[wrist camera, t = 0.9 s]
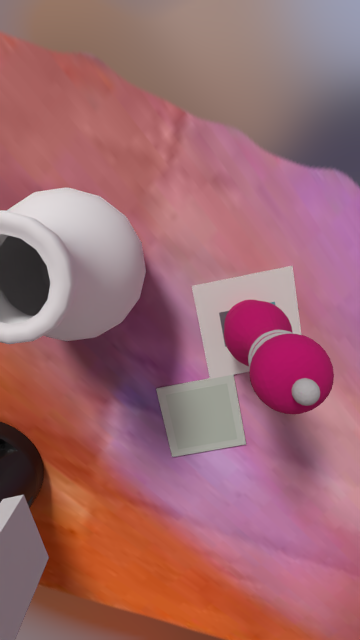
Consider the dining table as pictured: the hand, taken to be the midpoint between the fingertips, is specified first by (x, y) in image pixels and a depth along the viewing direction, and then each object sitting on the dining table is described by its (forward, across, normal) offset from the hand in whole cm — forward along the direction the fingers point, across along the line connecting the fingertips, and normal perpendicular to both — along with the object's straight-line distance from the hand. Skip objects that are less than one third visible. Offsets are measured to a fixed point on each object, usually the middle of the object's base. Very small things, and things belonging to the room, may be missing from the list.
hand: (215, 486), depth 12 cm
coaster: (+30, -1, -14) cm, 33 cm away
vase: (+30, -10, +9) cm, 33 cm away
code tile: (+30, +7, -3) cm, 31 cm away
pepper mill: (+30, +7, -3) cm, 31 cm away
